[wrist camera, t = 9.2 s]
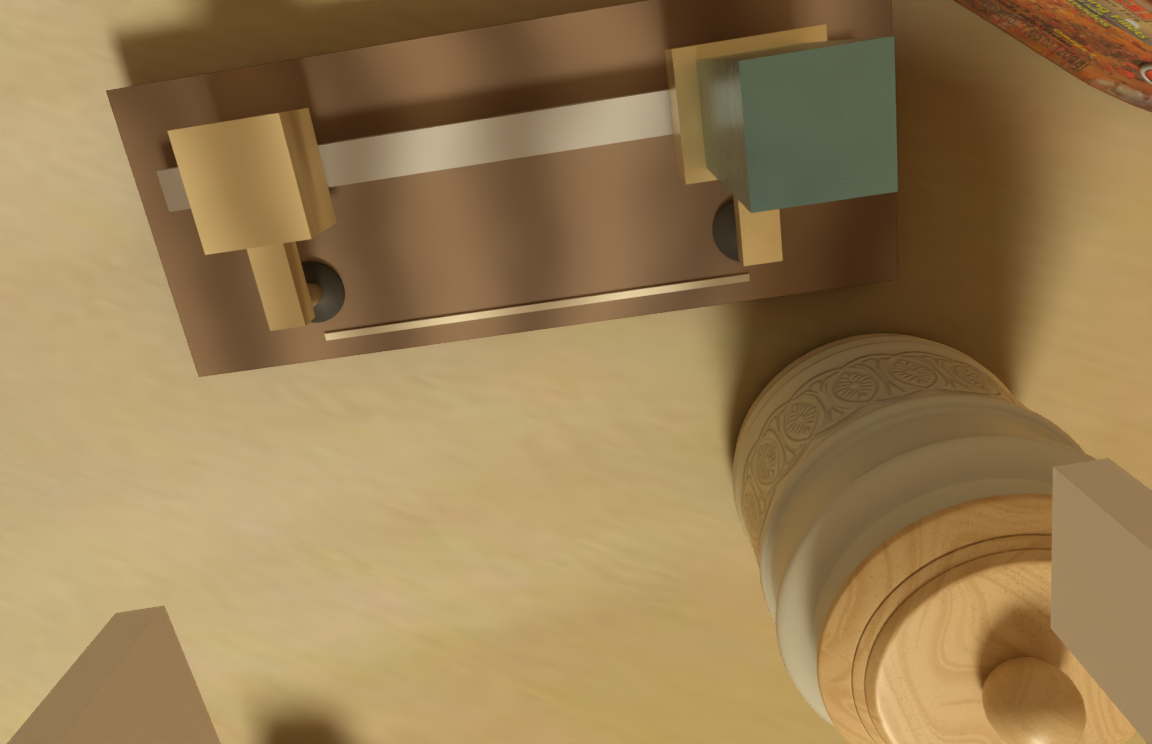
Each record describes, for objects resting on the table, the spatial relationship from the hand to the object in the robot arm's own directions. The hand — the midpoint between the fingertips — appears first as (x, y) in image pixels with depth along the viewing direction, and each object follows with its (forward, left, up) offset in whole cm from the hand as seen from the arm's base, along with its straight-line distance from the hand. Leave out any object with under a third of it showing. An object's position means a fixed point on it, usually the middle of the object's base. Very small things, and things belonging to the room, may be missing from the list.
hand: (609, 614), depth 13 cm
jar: (+11, -12, -26) cm, 30 cm away
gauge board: (-3, +3, -26) cm, 26 cm away
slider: (+6, +4, -23) cm, 24 cm away
